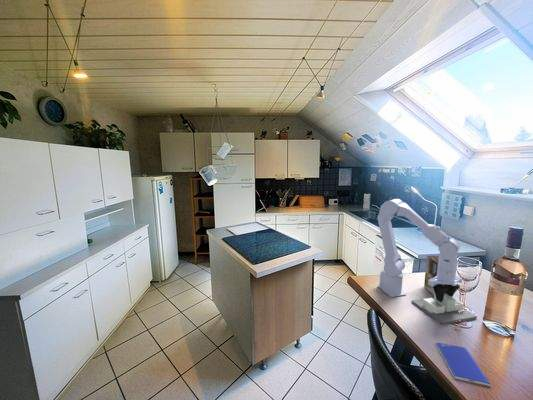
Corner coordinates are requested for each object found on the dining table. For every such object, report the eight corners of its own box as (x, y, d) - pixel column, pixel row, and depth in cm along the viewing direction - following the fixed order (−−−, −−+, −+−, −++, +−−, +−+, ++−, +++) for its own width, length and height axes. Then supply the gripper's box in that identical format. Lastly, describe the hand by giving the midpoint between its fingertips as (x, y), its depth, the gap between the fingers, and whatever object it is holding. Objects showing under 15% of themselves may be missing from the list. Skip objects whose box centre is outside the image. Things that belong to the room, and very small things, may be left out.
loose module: (433, 302, 94) (434, 291, 93) (440, 301, 94) (441, 291, 94) (446, 312, 88) (448, 300, 87) (454, 310, 89) (455, 299, 88)
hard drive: (436, 341, 74) (454, 375, 63) (465, 347, 72) (490, 383, 60) (435, 346, 75) (453, 379, 63) (465, 351, 72) (490, 388, 61)
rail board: (411, 302, 97) (412, 293, 97) (442, 298, 100) (443, 289, 99) (441, 324, 84) (443, 314, 83) (476, 318, 86) (478, 308, 86)
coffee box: (449, 297, 100) (453, 263, 98) (433, 296, 101) (437, 263, 99) (437, 286, 109) (441, 255, 107) (423, 285, 110) (426, 255, 108)
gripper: (441, 275, 84) (437, 308, 86) (472, 271, 86) (468, 303, 89) (424, 267, 91) (421, 297, 93) (454, 263, 93) (450, 293, 95)
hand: (443, 299), depth 91 cm, fingers closed on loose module, 3 cm apart
